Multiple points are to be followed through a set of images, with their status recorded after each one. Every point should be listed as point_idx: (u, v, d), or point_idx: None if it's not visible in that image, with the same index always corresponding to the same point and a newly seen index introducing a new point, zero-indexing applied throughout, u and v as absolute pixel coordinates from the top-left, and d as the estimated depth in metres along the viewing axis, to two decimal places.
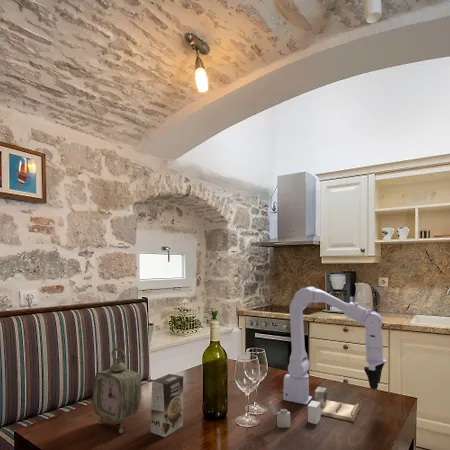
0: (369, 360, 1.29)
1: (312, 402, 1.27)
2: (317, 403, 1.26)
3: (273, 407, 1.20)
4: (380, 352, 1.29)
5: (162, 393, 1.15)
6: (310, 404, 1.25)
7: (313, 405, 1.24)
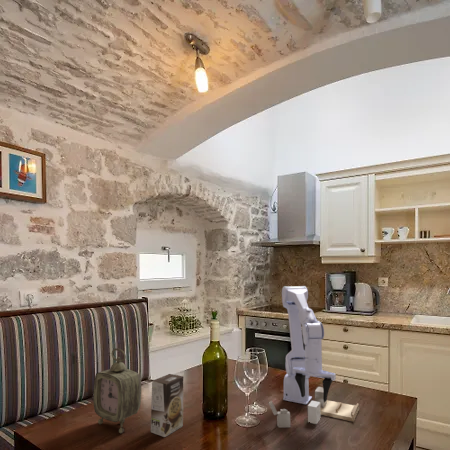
0: None
1: (312, 402, 1.27)
2: (317, 403, 1.26)
3: (273, 407, 1.20)
4: (306, 362, 1.25)
5: (162, 393, 1.15)
6: (310, 404, 1.25)
7: (313, 405, 1.24)
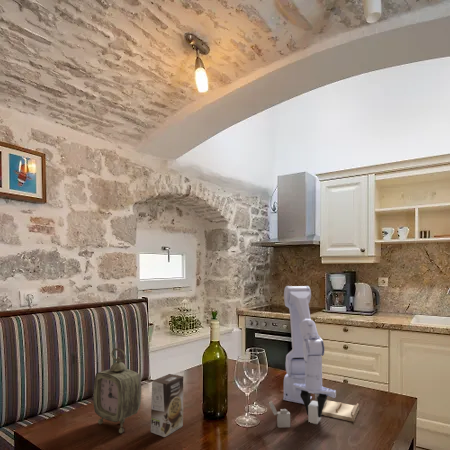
0: None
1: (312, 402, 1.26)
2: (317, 403, 1.26)
3: (273, 407, 1.20)
4: (307, 379, 1.25)
5: (162, 393, 1.15)
6: (310, 404, 1.25)
7: (313, 405, 1.24)
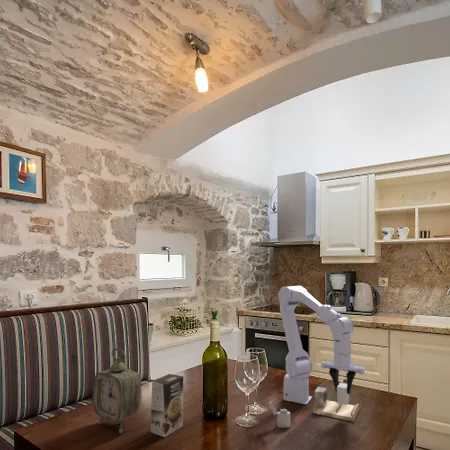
0: None
1: (341, 384, 1.28)
2: (346, 385, 1.27)
3: (273, 407, 1.20)
4: (336, 357, 1.27)
5: (162, 393, 1.15)
6: (339, 386, 1.27)
7: (342, 386, 1.26)
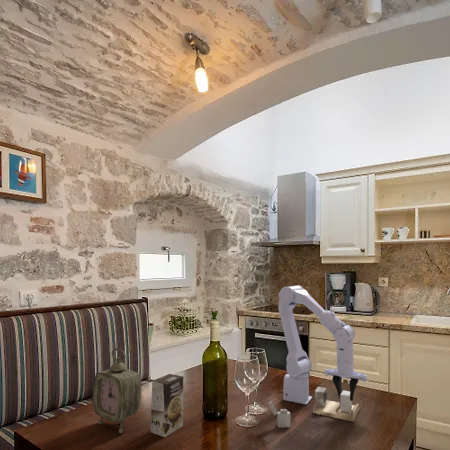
0: None
1: (344, 392, 1.32)
2: (349, 392, 1.31)
3: (273, 407, 1.20)
4: (339, 364, 1.31)
5: (162, 393, 1.15)
6: (342, 393, 1.30)
7: (345, 394, 1.29)
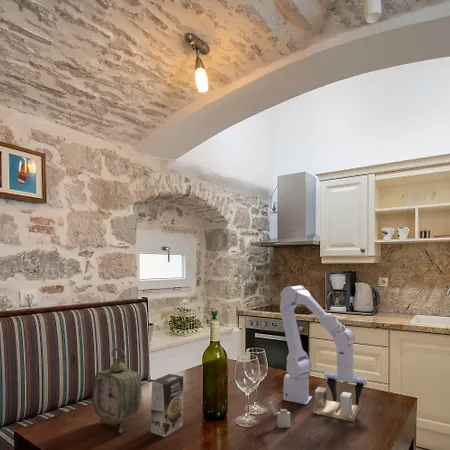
0: None
1: (344, 393, 1.32)
2: (349, 394, 1.31)
3: (273, 407, 1.20)
4: (339, 368, 1.30)
5: (162, 393, 1.15)
6: (342, 395, 1.30)
7: (345, 396, 1.29)
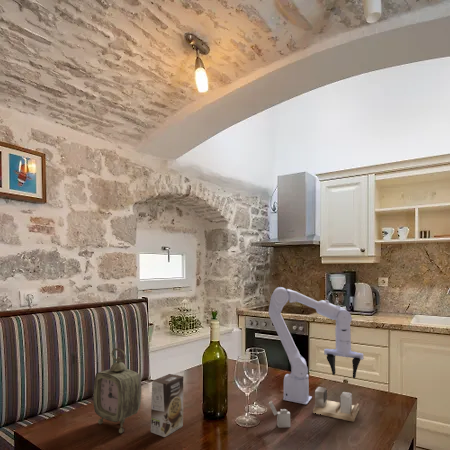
0: None
1: (344, 393, 1.32)
2: (349, 394, 1.31)
3: (273, 407, 1.20)
4: (337, 344, 1.41)
5: (162, 393, 1.15)
6: (342, 395, 1.30)
7: (345, 396, 1.29)
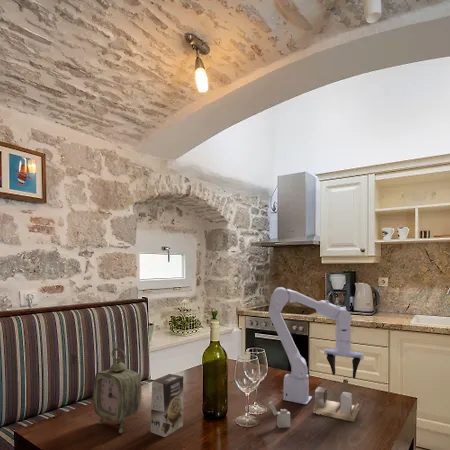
0: None
1: (344, 393, 1.32)
2: (349, 394, 1.31)
3: (273, 407, 1.20)
4: (337, 344, 1.41)
5: (162, 393, 1.15)
6: (342, 395, 1.30)
7: (345, 396, 1.29)
